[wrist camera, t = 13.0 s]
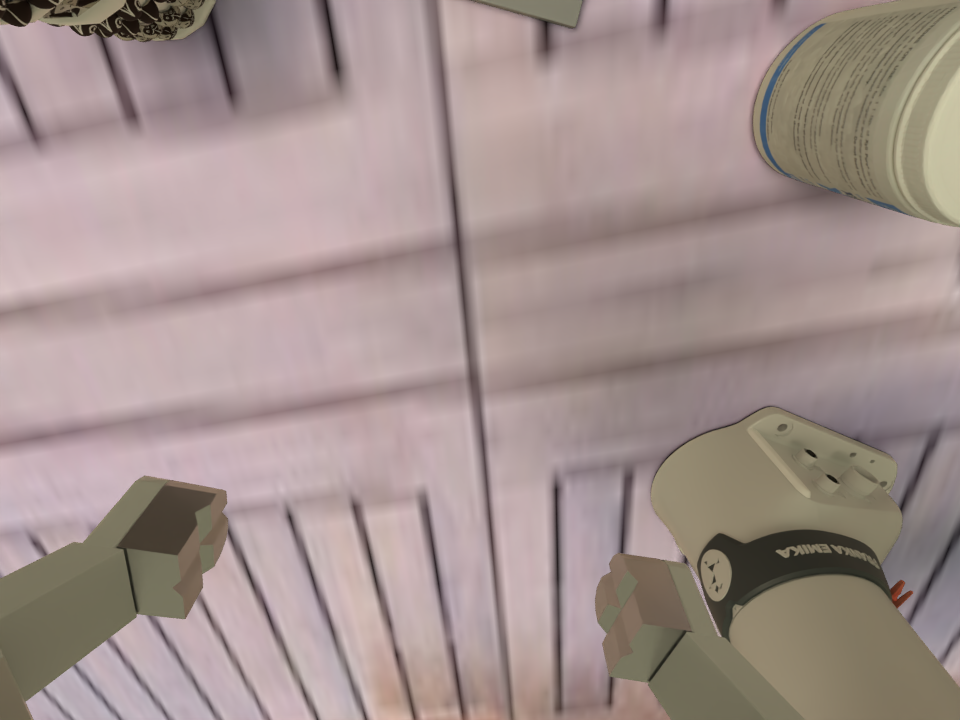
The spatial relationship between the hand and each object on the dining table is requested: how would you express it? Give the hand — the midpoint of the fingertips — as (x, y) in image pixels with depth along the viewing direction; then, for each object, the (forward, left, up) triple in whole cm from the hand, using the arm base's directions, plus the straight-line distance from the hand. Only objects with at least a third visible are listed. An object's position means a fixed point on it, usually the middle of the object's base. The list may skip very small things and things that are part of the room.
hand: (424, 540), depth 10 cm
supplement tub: (-21, -12, -29) cm, 38 cm away
